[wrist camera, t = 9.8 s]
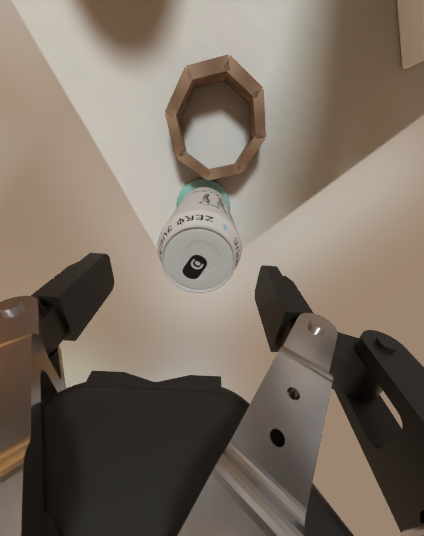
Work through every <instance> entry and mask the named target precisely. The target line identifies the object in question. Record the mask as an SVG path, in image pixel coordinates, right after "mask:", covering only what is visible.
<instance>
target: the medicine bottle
mask: <svg viewBox="0 0 424 536" xmlns="http://www.w3.org/2000/svg"><path fill="white" fill-rule="evenodd" d="M397 7H398V19H399V31H400V44H401V56H402V67H403V69H407V68H409V67H412V66H414V65H416V64H418V63H420V62H422V61H424V0H397Z"/></svg>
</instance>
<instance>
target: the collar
mask: <svg viewBox="0 0 424 536" xmlns="http://www.w3.org/2000/svg"><path fill="white" fill-rule="evenodd" d="M186 67H187V69H186V68H184V70H183V72H182V75H181V77H180V79H179V81H178V84H177V86H176V88H175V90H174V93H173V95H172V97H171V99H170V102H169V104H168V106H167V108H166V111H165V112H166V113H165V115H166V119H167V123H168V127H169V132H170V136H171V140H172V144H173V148H174V152H175V156H176V157H177V159H178V160H179V161H181V162H182V163H183V164H185V165H186V166H187V167H189V168H190V169H192V170H193V171H194V172H196V173H197V174H198V175H200V176H201V177H202V178H204V179H205V180H213V179H218V178H222V177H227V176H232V175H237V174H241V172H243V171H244V169H245V168H246V167H247V165H248V164H249V162H250V161H251V159H252V158H253V156H254V155H255V153H256V152H257V150H258V149H259V147H260V146H261V144H262V143H263V141H264V140H265V137H266V131H265V111H264V90H263V89H262V88H263V87H262V86H261V85H260V84H259V83H258V82H257V81H256V80H255V79H254V78H253V77H252V76H251V75H250V74H249V73H248V72H247V71H246V70H245V69H244V68H243V67H242V66H241V65H240V64H239V63H238V62H237V61H236V60H234V59H233V58H232V57H231V56H229V57H228V55H225V56H221V57H217V58H214V59H210V60H206V61H202V62H199V63H195V64H191V65H187V66H186ZM221 81H226V82H227V83H228V84H229V85H230V86H231V87H232V88H233V89H234V90H235V91H236V92H238V93H239V94H240V95H241V96H242V97H243V98H244V99H245V100H246V101H247V102H248V103H249V113H250V126H251V139H250V141H249V142H248V144H247V145H246V147H245V148H244V150H243V152H242V153H241V155H240V156H239V158H238V159H237V161H236V162H235V164H231V165H227V166H222V167H217V168H213V169H208V168H207V167H205V166H204V165H203V164H201V163H200V162H199V161H197V160H196V159H195V158H193V157H192V156H191V155H189V154H188V153H187V152H186V147H185V143H184V138H183V134H182V129H181V124H180V117H181V115H182V113H183V111H184V109H185V107H186V105H187V103H188V101H189V99H190V97H191V95H192V92H193V90H194V88H197V87H201V86H205V85H209V84H213V83H217V82H221ZM261 89H262V90H261Z"/></svg>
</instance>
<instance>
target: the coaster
mask: <svg viewBox="0 0 424 536" xmlns="http://www.w3.org/2000/svg"><path fill="white" fill-rule="evenodd" d="M199 187H209V188H212V189H214V190H216V191H217V192H219V193H220V194H221V195H222V197H223V198H224V199H225V202H226V204H227V206H228V209H229V211H230V202H229V198H228V195H227V193H226V192H225V190H224V189H223V188H222V187H221V186H220V185H219V184H218V183H216V182H214V181H212V180H205V179H197V180H194V181H192V182H190V183H188V184H187V185H186V186H185V187H184V188H183V189H182V190H181V192H180V194H179V196H178V199H177V207H178V206H179V204H180V203H181V202H182V200H183V199H184V197H185V196H186V195H187V194H188V193H189V192H190V191H192V190H193V189H196V188H199Z"/></svg>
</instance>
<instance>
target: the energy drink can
mask: <svg viewBox="0 0 424 536" xmlns="http://www.w3.org/2000/svg"><path fill="white" fill-rule="evenodd" d="M158 254H159V258H160V261H161V263H162V267H163V270H164V272H165V274H166V276H167V277H168V278H169V280H170V281H171V282H172V283H173V284H175V285H176V286H178V287H179V288H181V289H184V290H186V291H190V292H195V293H204V292H209V291H213V290H215V289H217V288H219V287H221V286H222V285H224V284H225V283H226V282H227V281H228V280H229V278H230V277H231V276H232V274H233V271H234V270H235V268H236V267H237V265H238V263H239V260H240V256H241V241H240V237H239V234H238V232H237V229H236V227H235V224H234V222H233V219H232V217H231V214H230V211H229V209H228V206H227V204H226V202H225V199H224V198H223V197H222V195H221V194H220V193H219V192H217V191H216V190H214V189H212V188H209V187H199V188H196V189H193V190H192V191H190V192H189V193H188V194H187V195H186V196H185V197H184V199H183V200H182V202H181V203H180V204H179V206H178V207H177V209H176V210H175V212H174V213H173V215H172V216H171V217H170V219H169V220H168V222H167V223H166V225H165V226H164V227H163V229H162V231H161V233H160V236H159V240H158Z"/></svg>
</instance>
